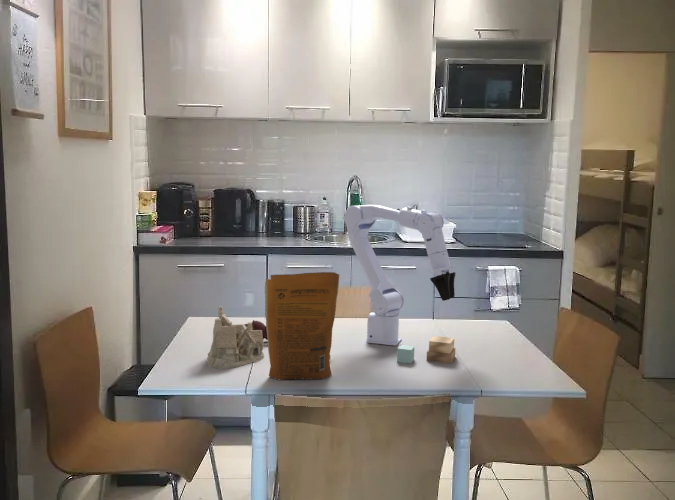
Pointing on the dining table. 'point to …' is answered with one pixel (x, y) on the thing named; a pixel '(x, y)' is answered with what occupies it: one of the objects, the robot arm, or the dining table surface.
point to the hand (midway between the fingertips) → (448, 299)
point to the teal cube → (405, 354)
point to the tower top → (441, 344)
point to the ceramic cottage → (234, 344)
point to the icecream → (259, 328)
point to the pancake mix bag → (300, 324)
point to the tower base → (441, 356)
